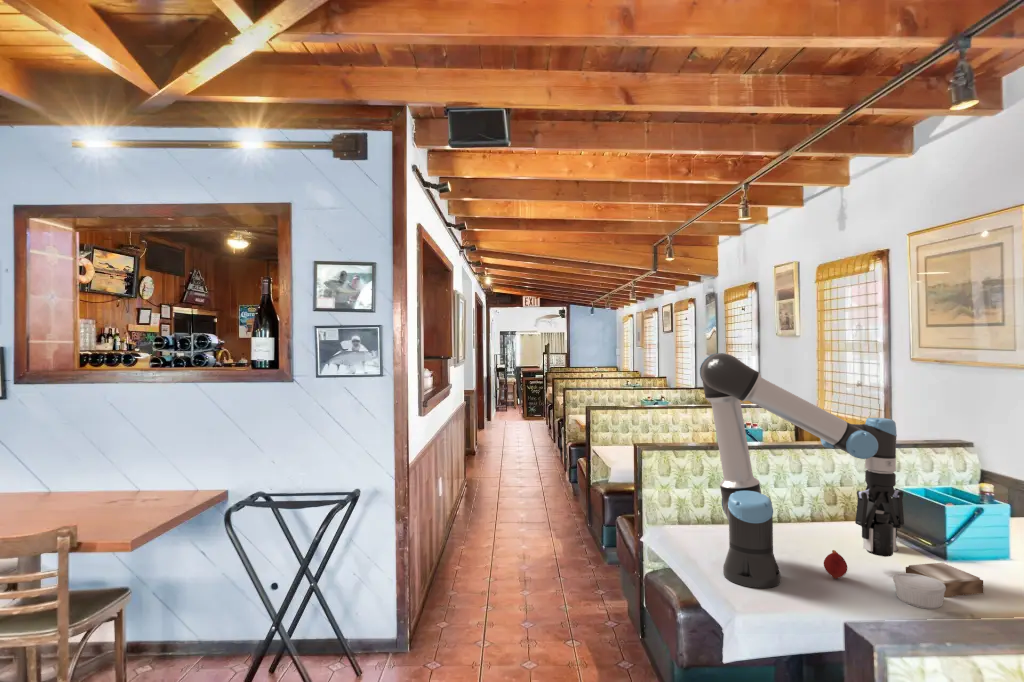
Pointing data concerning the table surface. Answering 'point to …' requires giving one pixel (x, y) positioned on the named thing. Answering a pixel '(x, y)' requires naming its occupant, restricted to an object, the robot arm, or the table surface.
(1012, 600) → the table surface
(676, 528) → the table surface
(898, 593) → the ramekin
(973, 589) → the plinth
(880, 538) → the supplement bottle
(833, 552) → the onion
